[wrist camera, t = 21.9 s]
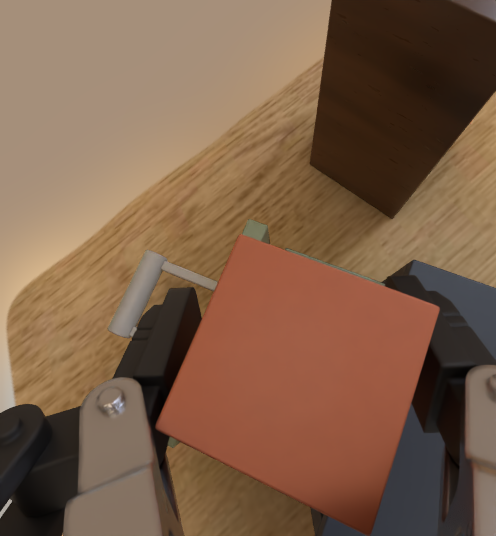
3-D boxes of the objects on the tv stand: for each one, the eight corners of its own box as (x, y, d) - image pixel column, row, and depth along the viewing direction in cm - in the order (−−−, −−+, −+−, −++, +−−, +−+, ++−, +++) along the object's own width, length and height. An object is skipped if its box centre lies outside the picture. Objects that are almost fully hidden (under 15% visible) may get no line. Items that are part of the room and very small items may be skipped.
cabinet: (304, 476, 23) (316, 548, 15) (370, 289, 26) (413, 258, 17) (538, 591, 21) (719, 760, 12) (587, 370, 23) (765, 381, 15)
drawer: (118, 379, 25) (56, 389, 19) (189, 227, 28) (158, 186, 21) (381, 507, 22) (425, 578, 15) (438, 320, 24) (499, 308, 17)
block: (222, 389, 15) (153, 429, 7) (262, 293, 15) (238, 232, 8) (322, 435, 14) (371, 539, 6) (359, 331, 15) (442, 306, 7)
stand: (392, 219, 27) (535, 40, 12) (309, 164, 29) (338, -54, 13) (450, 145, 28) (655, -111, 13) (366, 96, 30) (455, -181, 14)
